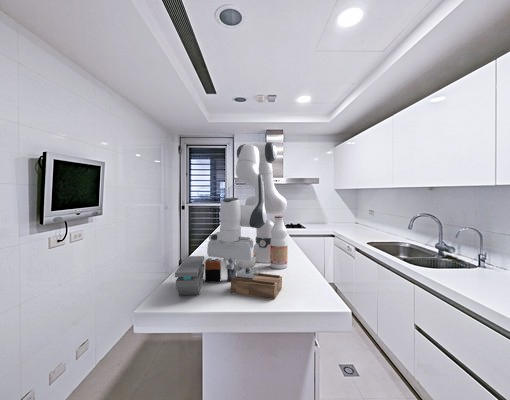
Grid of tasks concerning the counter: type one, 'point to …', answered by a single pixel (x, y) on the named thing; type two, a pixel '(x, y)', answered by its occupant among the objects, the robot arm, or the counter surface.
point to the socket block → (258, 286)
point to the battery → (212, 270)
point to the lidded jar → (247, 262)
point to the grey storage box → (190, 276)
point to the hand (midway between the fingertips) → (229, 268)
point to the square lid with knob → (248, 273)
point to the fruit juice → (278, 244)
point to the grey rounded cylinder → (231, 271)
